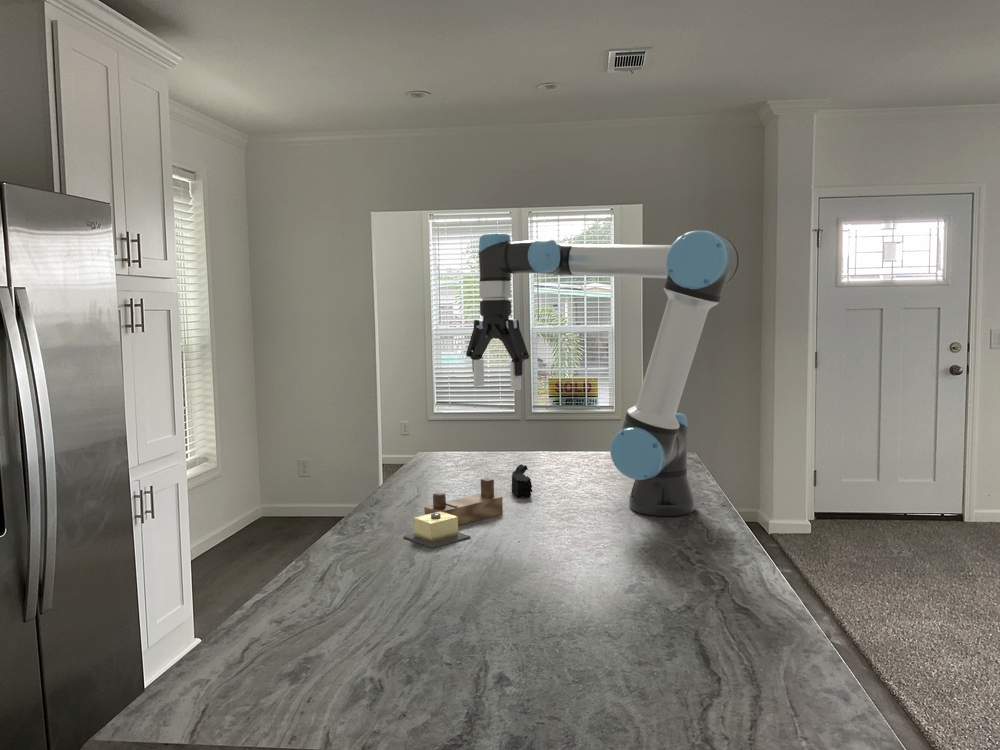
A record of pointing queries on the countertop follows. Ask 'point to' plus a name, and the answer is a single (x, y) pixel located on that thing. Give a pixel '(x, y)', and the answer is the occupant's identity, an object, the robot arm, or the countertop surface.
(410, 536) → the mat
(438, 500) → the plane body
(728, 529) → the countertop surface
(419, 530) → the yellow block with knob
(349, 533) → the countertop surface
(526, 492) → the toy
